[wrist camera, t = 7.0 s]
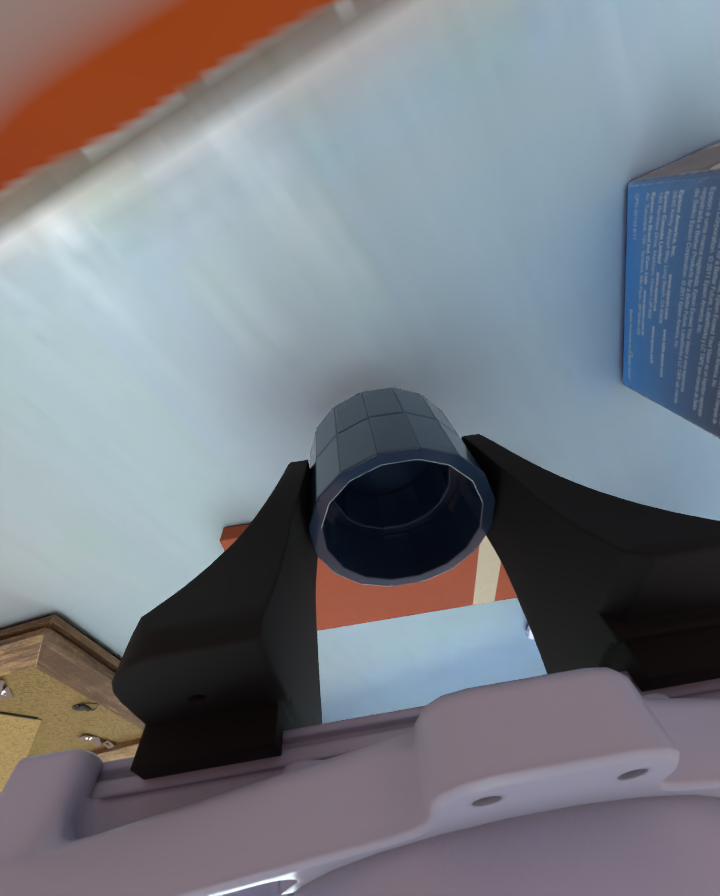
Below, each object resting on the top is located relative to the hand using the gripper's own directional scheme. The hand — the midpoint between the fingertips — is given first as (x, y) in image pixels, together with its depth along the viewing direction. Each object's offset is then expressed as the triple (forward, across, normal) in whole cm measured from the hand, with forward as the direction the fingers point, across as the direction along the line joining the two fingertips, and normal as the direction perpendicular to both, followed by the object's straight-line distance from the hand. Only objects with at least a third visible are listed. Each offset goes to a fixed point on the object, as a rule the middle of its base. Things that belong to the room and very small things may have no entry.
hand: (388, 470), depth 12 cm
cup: (+2, 0, 0) cm, 2 cm away
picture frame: (+5, +31, +22) cm, 38 cm away
